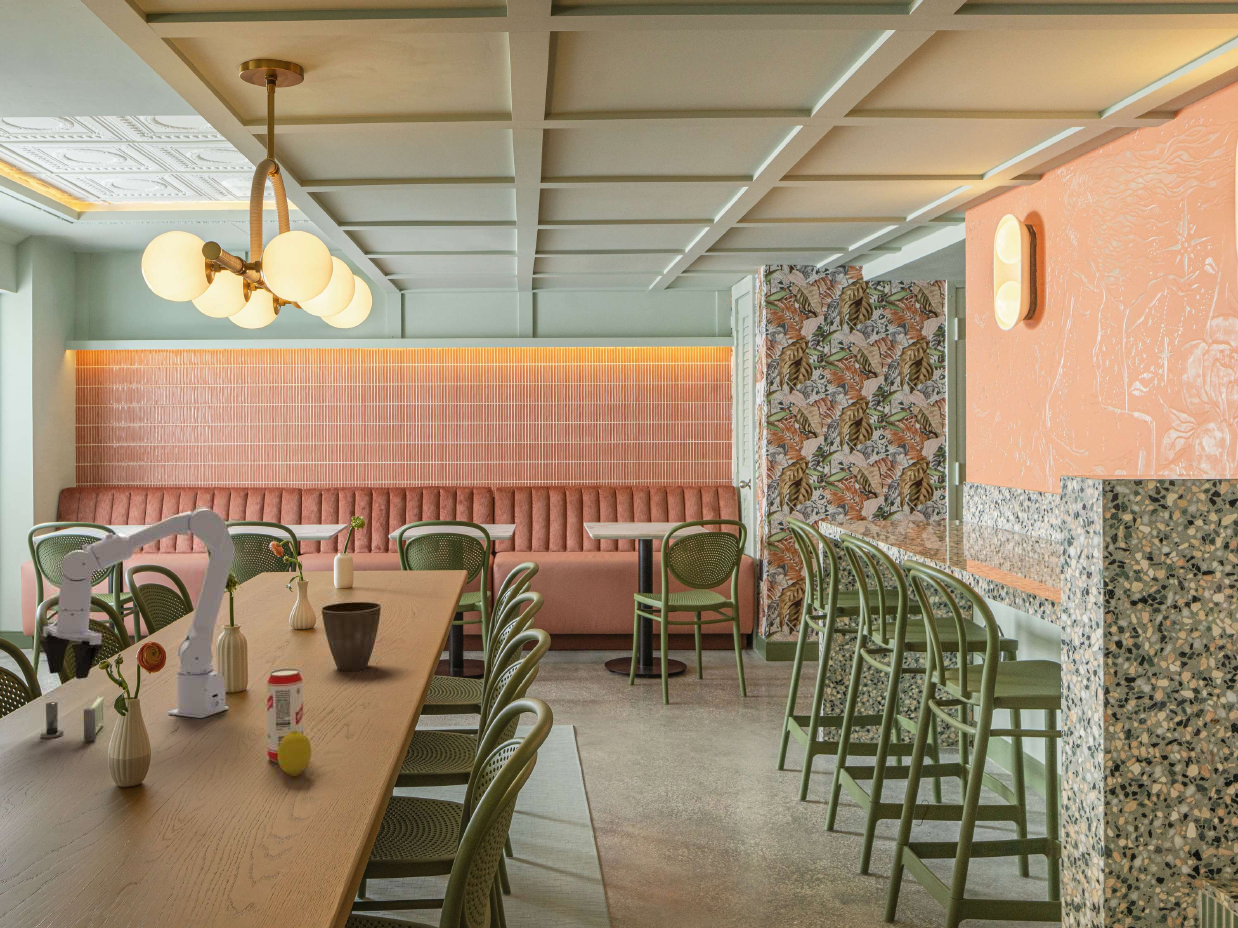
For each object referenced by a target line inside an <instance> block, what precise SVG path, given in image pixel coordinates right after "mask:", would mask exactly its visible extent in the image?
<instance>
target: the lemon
mask: <svg viewBox="0 0 1238 928" xmlns="http://www.w3.org/2000/svg"><path fill="white" fill-rule="evenodd" d="M311 759H312V747H311V743H310V740H309V738H308V737H307V736H306V734H302V733H300V732H297V731H296V730H293V731H292V732H291V733H289V734H287V735H286V736H285V737H284V738H283V739H282V740H281V742H280V745H279V748H278V762H279V763H278V765H279V766H280V768H281V770H283V772H286V773H288V774H290V775H291V776H292V777H297V776H298V775H299V774H300V773H301V772H302V771H304V770H306V768H307V767H308V766H309V764H310V762H311Z"/></svg>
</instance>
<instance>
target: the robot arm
mask: <svg viewBox="0 0 1238 928" xmlns="http://www.w3.org/2000/svg"><path fill="white" fill-rule="evenodd" d="M189 531H190V532H191V533H192V534H193V535H194V536H195V537H196V538H197V539H199V540H200V541H202V542H203V544H204V545H205V548H207V550H208V551H209V552H210V557H209V560H208V563H207V567H206V569H205V570H206V571H205V574H204V578H203V582H202V585H201V589H200V591H199V596H198V599H197V602H196V608H195V610H194V612H193V613H194V614H193V617H192V621H191V623H190V627H189V628H188V632H187V634H186V637H185V638H184V640H183V641H182V642H181V643H180V644H179V645H178V649H177V654H178V658H179V660H180V661H179V662H180V667H179V668H178V669H177V671H176V681H177V682H176V683H177V687H176V690H177V692H176V693H177V696H176V697H177V699H176V700H177V701H176V702H177V708H176V709H172V710H168V711H167V713H168V715H175V716H180V717H181V716H182V717H190V718H198V719H201V718H202V719H203V718H205V717H208V716H209V717H210V716H212V715H214V714H218V713H220V712H223V711H225V710H226V711H227V710H228V709H229V706H226V679H225V677H224V676H223V675H222V674H221V673H219V672H216V671H215V670H214V666H213V664H212V661H213V656H214V655H213V651H212V645H213V644H212V643H213V639H214V631H215V626H216V623H217V619H218V615H219V611H220V609H221V605H222V602H223V597H224V594H225V591H226V586H227V584H228V583H227V582H228V579H229V576H230V572H231V568H232V565H233V562H234V558H235V553H236V547H235V545H234V542H233V540H232V537H231V534H230V531H229V528H228V526H227V523H226V522H225V521H224V520H223V519H222V517H221V516H220V515H219V514H218V513H217V512H216V511H214V510H213V509H211V508H208V507H199V508H196V509H193V510H192V511H190V510H189V511H185V512H181V513H178V514H176V515H175V514H174V515H172V516H170V517H167V518H166V519H163V520H160V521H159V522H155V523H154V524H152V525H149V526H147V527H145V528H143V529H140V530H139V531H137V532H135V533H132V534H131V533H130V535H126V534H123V533H120V532H117V533H115V534H113V532H110V533H107V534H106V535H105V537H106V538H103V539H101V540H98V541H96V542H93V543H91V544H88V543H86V544H83V545H82V546H81V549H82V550H79V549H76V550H73V551H70V552H69V553H67V554H66V555H65V556H64V558H63V560H62V562H61V565H60V566H61V572H62V576H61V579H60V583H61V586H60V587H59V595H58V597H59V598H58V609H57V619H56V620H57V621H56V625H47V626H43V629H42V636H43V637H45V638H42V639H41V638H40V640H39V644H40V646H41V647H42V649H43V651H44V653H45V654H44V655H45V656H46V660H47V666H48V672H49V673H50V674H58V673H61V672H62V671H63V667H64V661H65V656H66V652H67V648H68V645H69V643H70V641H73V642H78V643H75V644H71V648H72V651H73V655H74V658H75V659H74V661H75V673H74V674H75V677H76V678H75V679H76V680H77V679H78V680H81V679H86V678H88V676H89V673H90V672H91V668H92V665H93V663H94V660H95V659H96V657H97V655H98V654H99V653H100V651H101V650H102V648H103V643H102V639H103V637H102V636H103V635H102V633H97V632H95V631H92V630H90V629H89V626H90V624H89V623H90V614H91V602H92V589H93V587H92V585H91V584H92V574H93V573H94V571H102V570H105V569H108V568H109V567H112V566H114V565H116V564H120V563H121V562H124V561H126V560H128V559H130V558H132V556H133V554H134V551H135V550H136V549H138V548H141V547H143V546H147V545H149V544H152V543H154V542H157V541H159V540H162V539H164V538H167V537H169V536H172V535H173V536H174V535H176V536H186V537H187V536H189ZM79 642H81V643H79Z"/></svg>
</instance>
